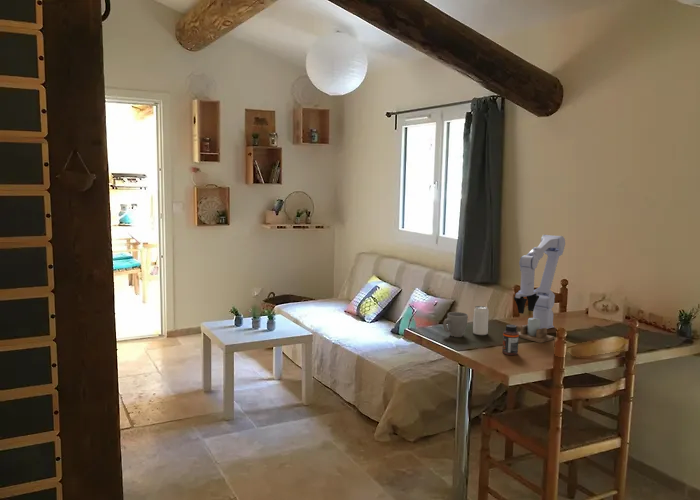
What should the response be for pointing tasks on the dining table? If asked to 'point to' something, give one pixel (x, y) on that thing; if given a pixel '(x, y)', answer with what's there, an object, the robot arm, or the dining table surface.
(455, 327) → the mug
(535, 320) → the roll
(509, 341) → the supplement bottle
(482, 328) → the can
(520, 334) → the holder
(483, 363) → the dining table surface
